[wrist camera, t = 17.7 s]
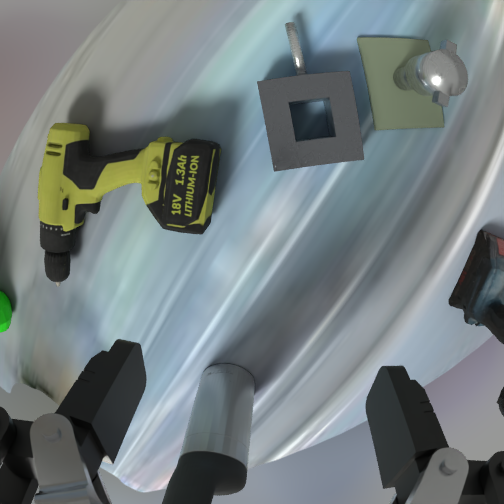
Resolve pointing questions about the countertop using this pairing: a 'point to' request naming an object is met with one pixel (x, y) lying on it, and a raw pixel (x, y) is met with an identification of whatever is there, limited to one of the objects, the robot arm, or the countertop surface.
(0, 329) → the plastic bottle
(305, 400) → the countertop surface
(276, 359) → the countertop surface
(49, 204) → the cordless drill
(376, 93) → the mat
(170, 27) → the countertop surface
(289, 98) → the block
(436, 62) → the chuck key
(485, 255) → the power drill
